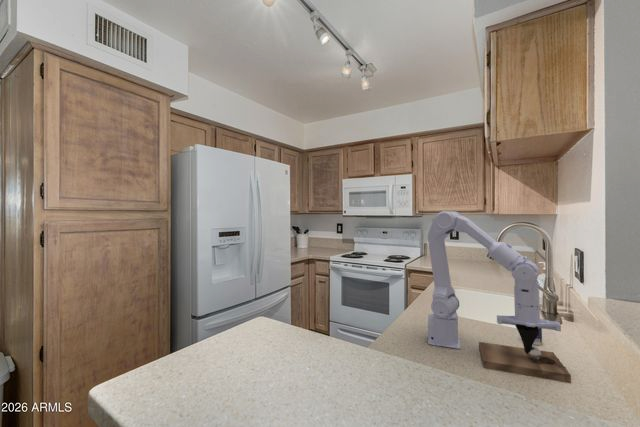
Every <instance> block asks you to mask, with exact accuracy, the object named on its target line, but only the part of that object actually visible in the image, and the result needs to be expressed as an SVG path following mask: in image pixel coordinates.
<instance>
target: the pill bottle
mask: <svg viewBox="0 0 640 427" xmlns="http://www.w3.org/2000/svg"><path fill="white" fill-rule="evenodd" d="M538 330H539V335H538V336H537V338H536V339H535V341H534V343H533V345H532V346H540V345H542V344H543V328H538Z"/></svg>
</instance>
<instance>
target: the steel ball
mask: <svg viewBox="0 0 640 427" xmlns="http://www.w3.org/2000/svg"><path fill="white" fill-rule="evenodd" d="M541 351H542V350H540V348H538V347H537V346H536V345H532V348H531V351H530V352H529V354H527V355H528V357H530V358H531V359H535V360H536V359H539V358H540V357H541Z"/></svg>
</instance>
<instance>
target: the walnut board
mask: <svg viewBox="0 0 640 427" xmlns="http://www.w3.org/2000/svg"><path fill="white" fill-rule="evenodd" d="M478 349H479V353H480V358H481V361H482V365H483V367H482V368H484V369H488V370H493V371H501V372H505V373H512V374H515V375H516V374H517V375H522V376H528V377H532V378H533V377H535V378H539V379H544V380H545V379H546V380H552V381H557V382H562V383H563V382H564V383H569V384H571V383H572V375H571V373H570V372H569V370H567V368H566V366H564V364H563V363H562V362H561V360H560V359H559V358H558V357H557V356H556V354H555V353H554V351H553V352H552V351H547V350H546V351H545V350H540V351H541V357H540V358H539V359H536V360H535V359H531V358H530V357H528V355H527V354H526V353H525V351H524V347H518V346H510V345H504V344H496V343H489V342H484V341H478Z"/></svg>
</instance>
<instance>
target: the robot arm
mask: <svg viewBox="0 0 640 427" xmlns="http://www.w3.org/2000/svg"><path fill="white" fill-rule="evenodd" d="M452 232H459V233H464V234H467V235H468V236H470V238H472V239H473V240H475V242H477V243H479V244H480V245H481V246H483V247H484V248H486V249H487V250H488V256H489V257H490V258H492V259H493V260H494V261H495V262H497V263H498V264H499V265H501V266H502V267H503V268H504V269H505V270H507V271H508V272H511V276H512V277H513V279H514V286H513V295H514V302H513V303H514V315H498V314H497V315H496V323H497V324H498V325H510V326H515V328H516V330H517V332H518V334H519V336H520V339H521V341H522V345H523V348H524V351H525V353H526V354H529V352H530V351H531V348H532V346H534V345H533V343H534V341H535V339H536V338H537V336H538V335H539V330H538V328H542V330H543V329H544V330H545V329H546V330H552V331H556V332H562V326H561V323H560V322H558V321H554V320H549V319H548V320H547V319H542V318H541V310H540V307H541V306H540V288H539V280H538V278H539V275H540V268H539V266H538V265H537V264H536V263H535V262H534V261H533V260H531V259H528V257H527V256H526V255H522V254H521V253H519V252H518V251H516V250H515V249H514V248H512V247H513V245H512V244H511V243H509V242H508V243H506V242H504V241H496V240H495V239H493V237H491V235H489V234H488V233H487V232H485V231H484V230H482V229H481V228H480V227H479V226H478V225H477V224H475V223H474V222H473V221H472V220H471V219H469V218H468V217H465V215H462V214H461V213H460V212H459V211H454V210H453V211H452V210H451V211H448V210H443V211H440V212H438V213H437V214H436V215H435V216H434V217H433V218H432V222H431V225H430V229H429V230H428V233H427V243H428V250H429V257H430V263H431V264H430V265H431V270H432V277H433V283H434V289H433V292H432V301H431V305H430V306H431V311H432V312H433V313H428V315H427V341H428V345H431V346H432V345H433V346H438V347H445V348H449V349H451V348H452V349H456V350H457V349H461V343H460V338H459V322H458V321H459V318H458V316H459V315H458V313H457V310H458V309H459V307H460V300H459V298H458V297H457V295H456V291H455V289H454V288H453V286H452V281H451V276H450V267H449V263H448V262H449V261H448V256H447V247H446V241H445V240H446V238H447V237H449V235H450V234H451V233H452Z"/></svg>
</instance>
